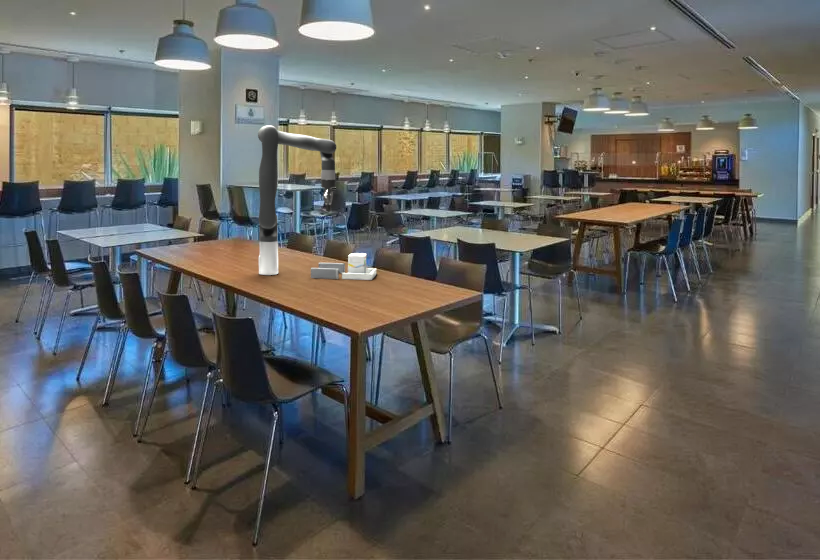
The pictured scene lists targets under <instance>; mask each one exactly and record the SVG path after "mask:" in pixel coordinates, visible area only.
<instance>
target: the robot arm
mask: <svg viewBox="0 0 820 560" xmlns="http://www.w3.org/2000/svg"><path fill="white" fill-rule="evenodd" d="M257 137H258V140H259V142H261V159H260V162H259V163H260V164H259V169H258V189H259V191H258V192H259V200H260V201H259V213H258V225H259V234H258V235H259V236H258V238H259V243H258V244H259V255H258V275H262V276H263V275H264V276H271V275H272V276H274V275H277V274H279V242H278V238H279V237H278V235H279V231H278V229H279V228H278V216H277V211H276V199H277V198H276V197H277V191H278V180H279V179H278V176H279V175H278V172H279V171H278V149H279V148H278V145H283V146H288V147H292V148H293V147H294V148H297V149H302V150H305V151H306V150H307V151H310V152H311V151H314V152H319V155H320V159H321V163H320V164H321V173H320V186H321V188H322V189H324V191H323V195H322V196H323V201H324V204H325V212H331V211H332V203H333V197H334V192H333V190H332V189H335V188H336V171H335V169H336V163H335V159H334V158H333V157H334V155H333V153H335V152H336V151H337V144H336V142H334V141H333V140H331V139H326V138H317V137H314V136H310V135H305V134H299V133H298V134H297V133H289V132H286V131H280V130H278V129H277V128H276V127H275V126H273V125H264V126H261V128H259V130H258V131H257Z"/></svg>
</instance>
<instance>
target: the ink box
mask: <svg viewBox="0 0 820 560" xmlns="http://www.w3.org/2000/svg"><path fill="white" fill-rule="evenodd" d="M347 257H348V258H347V260H348V261H347V273H364V274H366V268H367V253H363V252H361V253H359V252H354V253H350V254H349V255H348V256H347Z"/></svg>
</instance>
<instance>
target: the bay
mask: <svg viewBox="0 0 820 560" xmlns="http://www.w3.org/2000/svg"><path fill="white" fill-rule="evenodd" d="M342 273H346V263H341V262H339V263H338V262H318V267H311V268H310V278H311V279H325V280H327V279H328V280H329V279H330V280H338V279H339V276H340V275H339V274H342Z"/></svg>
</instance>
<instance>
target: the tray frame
mask: <svg viewBox="0 0 820 560" xmlns="http://www.w3.org/2000/svg"><path fill="white" fill-rule="evenodd" d="M376 275H377V268H371V267H370V268H368V267H366V274H364V273H348V272H345V273H341V280H358V281H359V280H361V281H372V280H373V279H374V278H375V277H376Z"/></svg>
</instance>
